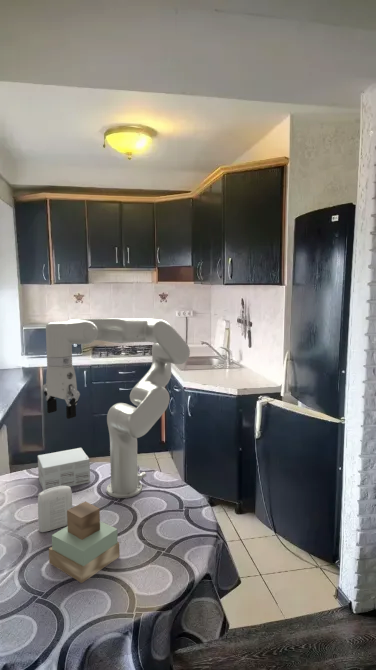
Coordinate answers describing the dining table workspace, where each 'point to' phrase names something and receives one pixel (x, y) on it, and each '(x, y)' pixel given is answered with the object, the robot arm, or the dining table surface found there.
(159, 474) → the dining table surface
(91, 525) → the walnut cube
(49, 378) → the robot arm
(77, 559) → the sage top block
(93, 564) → the maple base block
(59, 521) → the photo printer
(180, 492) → the dining table surface
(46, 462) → the supplement box
